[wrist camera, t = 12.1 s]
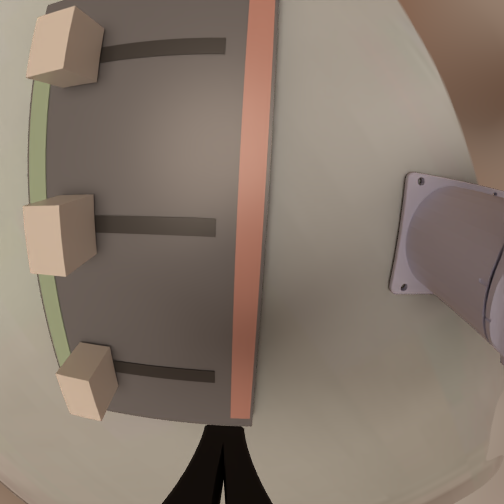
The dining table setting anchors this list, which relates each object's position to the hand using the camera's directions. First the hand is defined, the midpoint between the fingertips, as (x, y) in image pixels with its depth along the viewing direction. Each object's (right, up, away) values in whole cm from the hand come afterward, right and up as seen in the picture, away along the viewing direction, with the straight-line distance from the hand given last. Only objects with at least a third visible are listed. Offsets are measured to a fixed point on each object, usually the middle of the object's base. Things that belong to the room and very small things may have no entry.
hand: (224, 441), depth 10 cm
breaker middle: (-9, +9, +6) cm, 14 cm away
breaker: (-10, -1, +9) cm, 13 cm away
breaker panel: (-6, +9, +8) cm, 13 cm away
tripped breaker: (-9, +18, +3) cm, 21 cm away
